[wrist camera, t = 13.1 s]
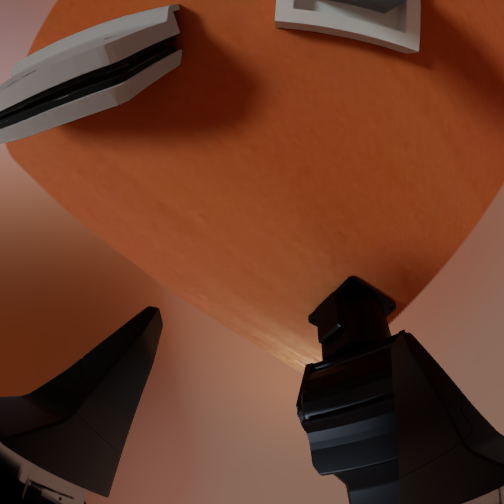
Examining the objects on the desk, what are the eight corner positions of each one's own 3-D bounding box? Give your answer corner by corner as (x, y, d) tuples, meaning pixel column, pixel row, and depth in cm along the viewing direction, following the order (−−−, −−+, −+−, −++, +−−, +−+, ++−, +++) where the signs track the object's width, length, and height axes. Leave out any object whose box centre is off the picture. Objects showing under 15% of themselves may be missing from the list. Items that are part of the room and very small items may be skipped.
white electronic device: (184, 3, 13) (107, 23, 7) (190, 58, 17) (129, 116, 11) (24, 58, 15) (-52, 114, 9) (36, 96, 18) (-31, 159, 12)
